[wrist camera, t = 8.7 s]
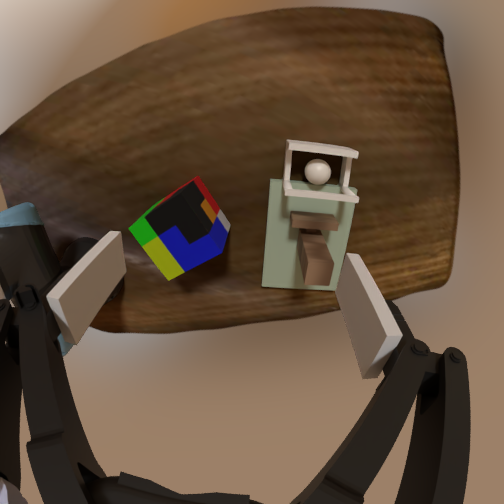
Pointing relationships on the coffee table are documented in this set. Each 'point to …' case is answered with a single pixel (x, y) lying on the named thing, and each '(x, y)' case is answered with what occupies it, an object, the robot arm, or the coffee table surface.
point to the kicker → (314, 246)
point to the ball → (317, 171)
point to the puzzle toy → (182, 229)
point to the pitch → (306, 200)
